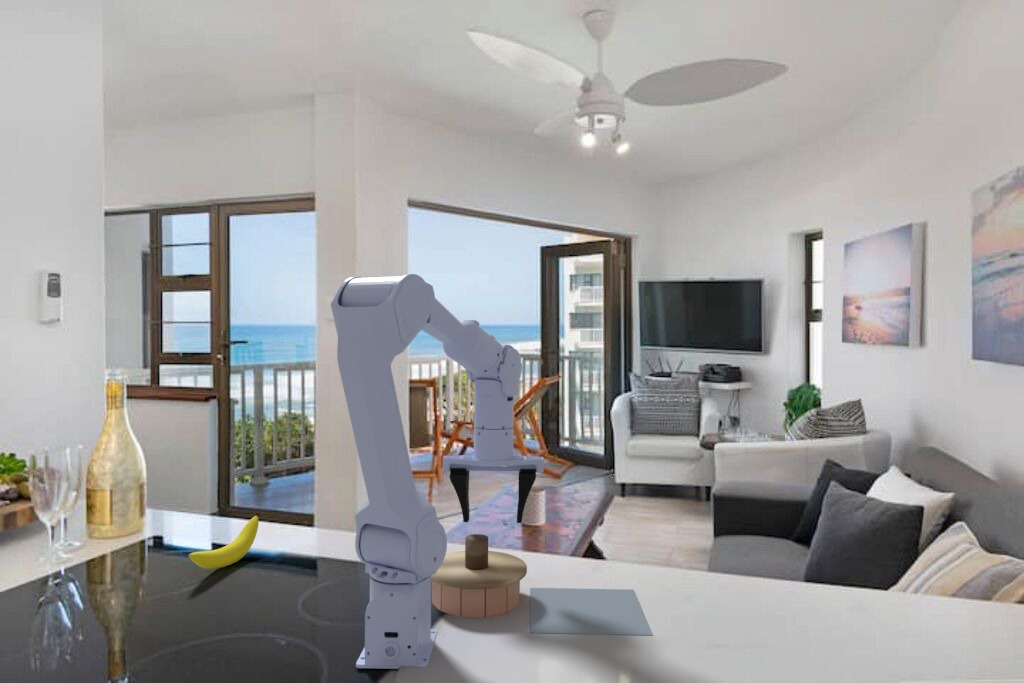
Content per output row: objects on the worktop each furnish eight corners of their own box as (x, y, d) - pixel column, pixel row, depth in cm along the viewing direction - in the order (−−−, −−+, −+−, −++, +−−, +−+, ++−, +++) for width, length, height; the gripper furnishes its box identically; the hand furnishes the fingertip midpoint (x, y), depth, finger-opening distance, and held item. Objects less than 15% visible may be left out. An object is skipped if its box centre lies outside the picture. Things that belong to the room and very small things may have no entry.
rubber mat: (652, 639, 83) (652, 635, 83) (530, 637, 84) (530, 632, 84) (633, 593, 98) (633, 589, 98) (530, 591, 99) (530, 587, 99)
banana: (179, 587, 99) (179, 544, 99) (250, 548, 118) (250, 511, 118) (197, 589, 99) (197, 545, 99) (265, 549, 117) (265, 512, 117)
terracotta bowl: (518, 621, 88) (519, 587, 88) (427, 620, 88) (427, 585, 88) (519, 587, 100) (520, 557, 100) (439, 586, 100) (439, 556, 100)
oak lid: (527, 590, 87) (527, 554, 87) (419, 588, 87) (419, 553, 87) (526, 555, 101) (526, 524, 101) (432, 553, 101) (432, 523, 101)
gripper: (543, 424, 102) (542, 514, 102) (447, 422, 102) (446, 512, 102) (544, 430, 95) (543, 527, 95) (441, 429, 95) (440, 525, 95)
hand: (492, 520), depth 98 cm, fingers open, 7 cm apart
